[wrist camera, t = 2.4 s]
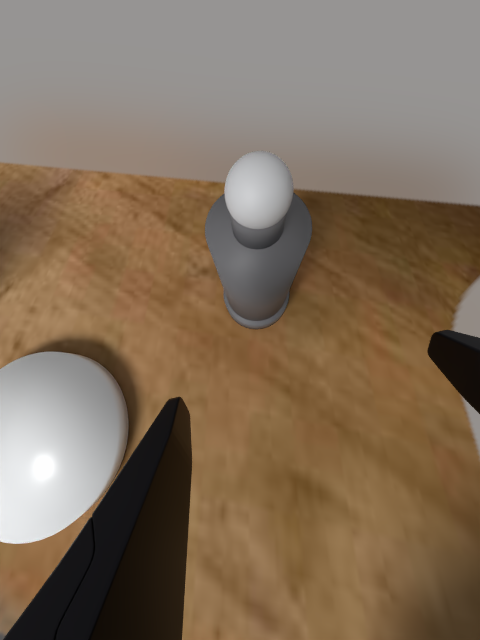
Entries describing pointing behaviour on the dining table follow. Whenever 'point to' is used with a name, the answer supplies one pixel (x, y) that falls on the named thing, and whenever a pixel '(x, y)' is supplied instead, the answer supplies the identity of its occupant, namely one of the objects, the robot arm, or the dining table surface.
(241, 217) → the pepper mill
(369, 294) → the dining table surface
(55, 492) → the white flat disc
